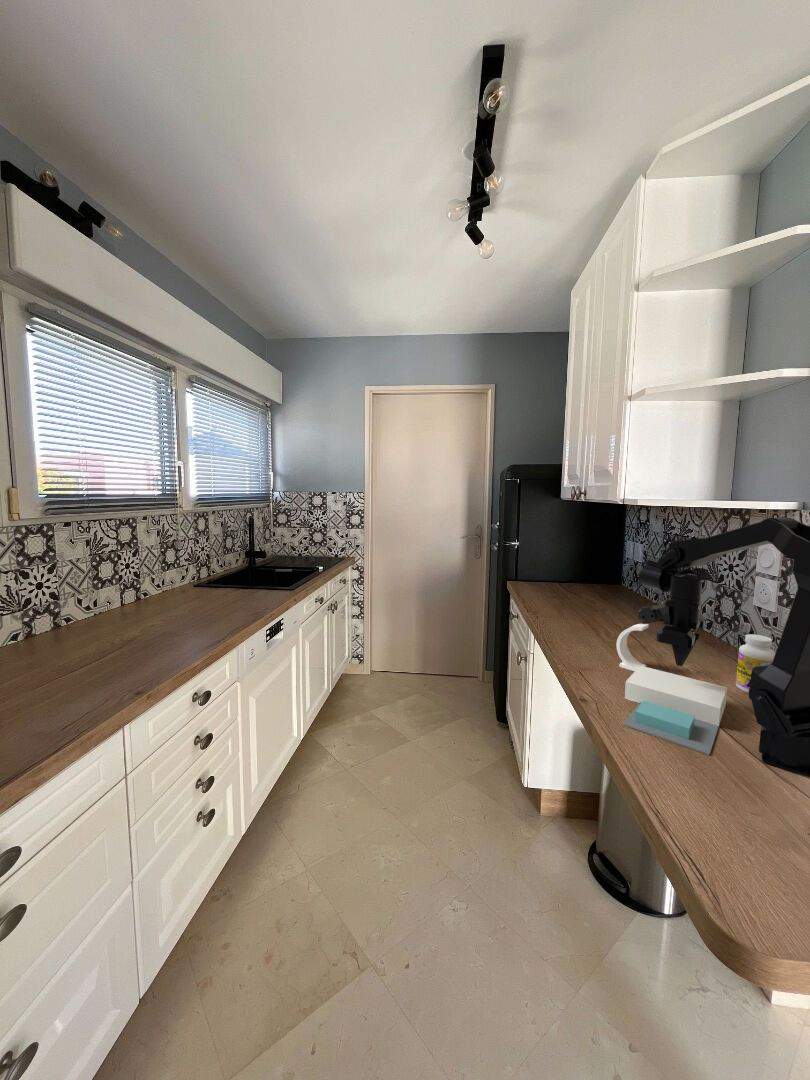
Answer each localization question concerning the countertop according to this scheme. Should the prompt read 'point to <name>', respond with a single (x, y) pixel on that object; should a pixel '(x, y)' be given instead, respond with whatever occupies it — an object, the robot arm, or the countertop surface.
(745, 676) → the supplement bottle
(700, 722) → the mat
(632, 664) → the headphone stand
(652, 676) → the tray
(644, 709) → the teal rectangular block
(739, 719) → the countertop surface
